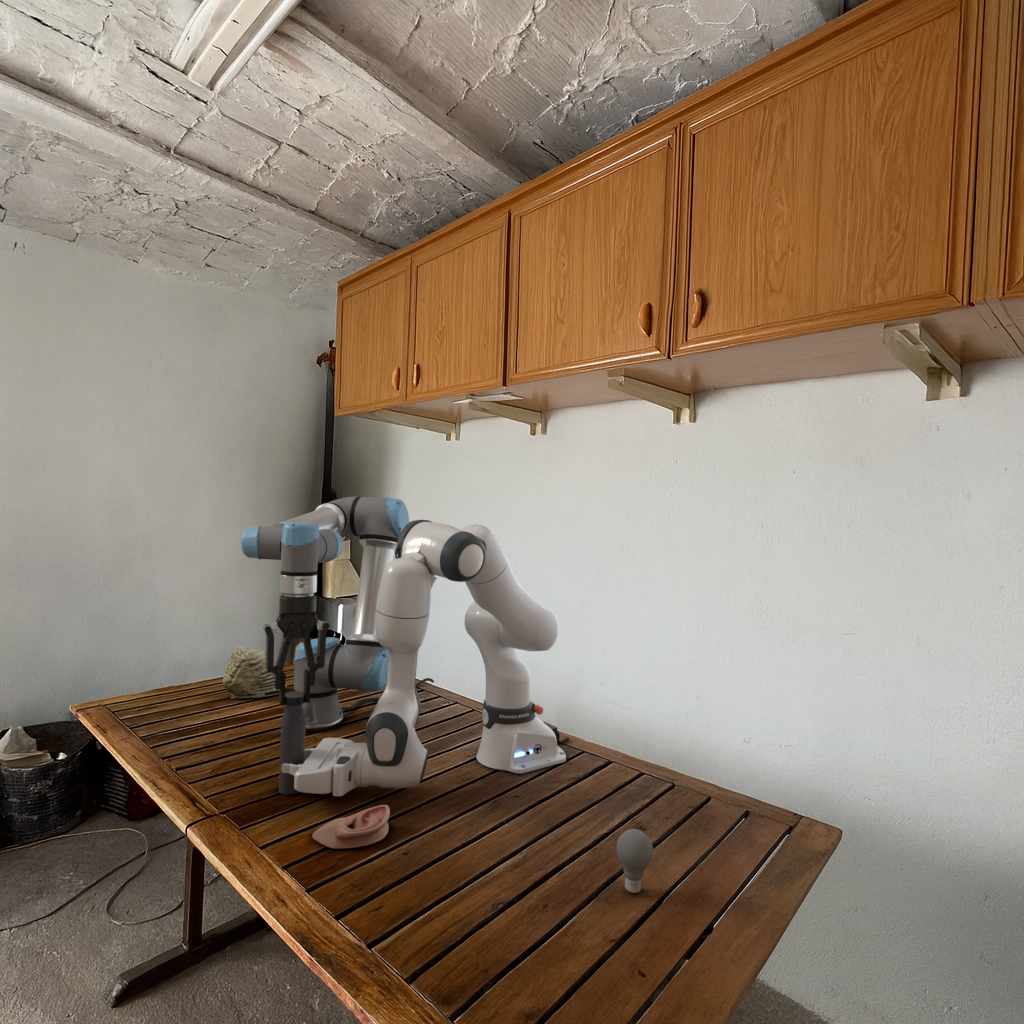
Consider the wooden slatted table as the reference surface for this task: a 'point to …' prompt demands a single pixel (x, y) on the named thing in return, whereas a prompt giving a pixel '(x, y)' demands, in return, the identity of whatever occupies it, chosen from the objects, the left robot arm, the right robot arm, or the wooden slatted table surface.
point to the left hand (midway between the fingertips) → (294, 702)
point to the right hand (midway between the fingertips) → (287, 761)
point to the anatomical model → (355, 829)
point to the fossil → (249, 674)
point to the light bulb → (634, 857)
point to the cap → (294, 698)
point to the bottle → (291, 745)
